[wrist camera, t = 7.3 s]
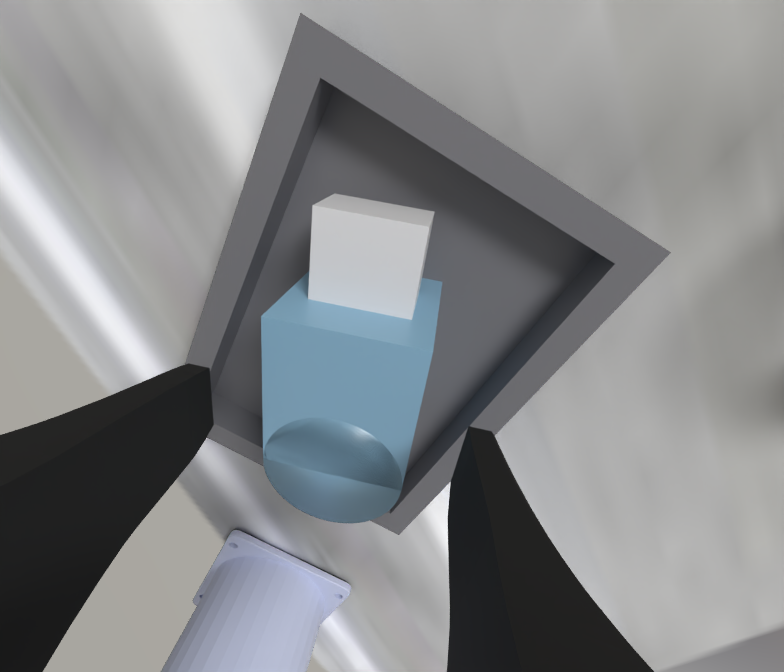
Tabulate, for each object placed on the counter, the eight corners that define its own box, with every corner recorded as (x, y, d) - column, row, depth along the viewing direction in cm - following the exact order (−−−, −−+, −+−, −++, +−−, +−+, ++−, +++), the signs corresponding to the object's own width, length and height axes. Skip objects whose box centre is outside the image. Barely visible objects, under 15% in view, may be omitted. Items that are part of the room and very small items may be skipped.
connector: (409, 434, 18) (391, 536, 13) (312, 412, 18) (263, 505, 14) (459, 206, 13) (456, 248, 9) (327, 183, 13) (259, 211, 9)
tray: (404, 499, 20) (398, 535, 19) (194, 390, 19) (167, 417, 17) (642, 235, 13) (670, 252, 11) (324, 29, 12) (300, 12, 10)
